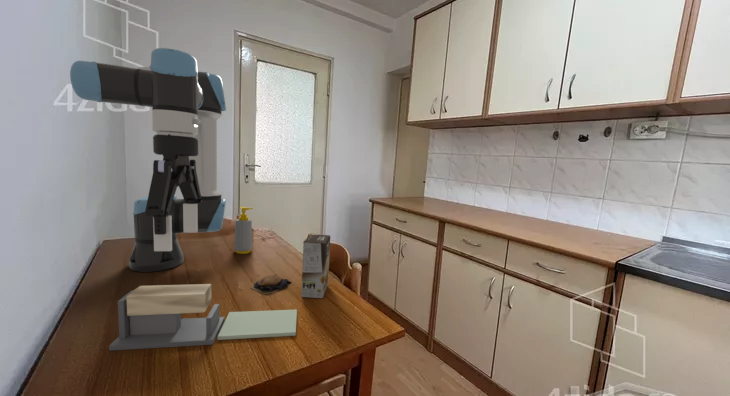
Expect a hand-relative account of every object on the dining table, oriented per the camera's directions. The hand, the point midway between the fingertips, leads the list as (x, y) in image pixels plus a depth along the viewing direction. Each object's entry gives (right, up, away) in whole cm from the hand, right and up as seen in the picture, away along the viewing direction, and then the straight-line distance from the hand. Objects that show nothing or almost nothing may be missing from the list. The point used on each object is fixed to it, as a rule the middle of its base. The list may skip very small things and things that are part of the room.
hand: (178, 240), depth 62 cm
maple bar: (-2, -14, +2) cm, 15 cm away
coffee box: (+24, -19, +27) cm, 41 cm away
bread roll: (+10, -18, +29) cm, 36 cm away
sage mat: (+14, -21, +8) cm, 26 cm away
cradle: (-3, -20, +2) cm, 21 cm away
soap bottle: (-10, -13, +58) cm, 60 cm away
